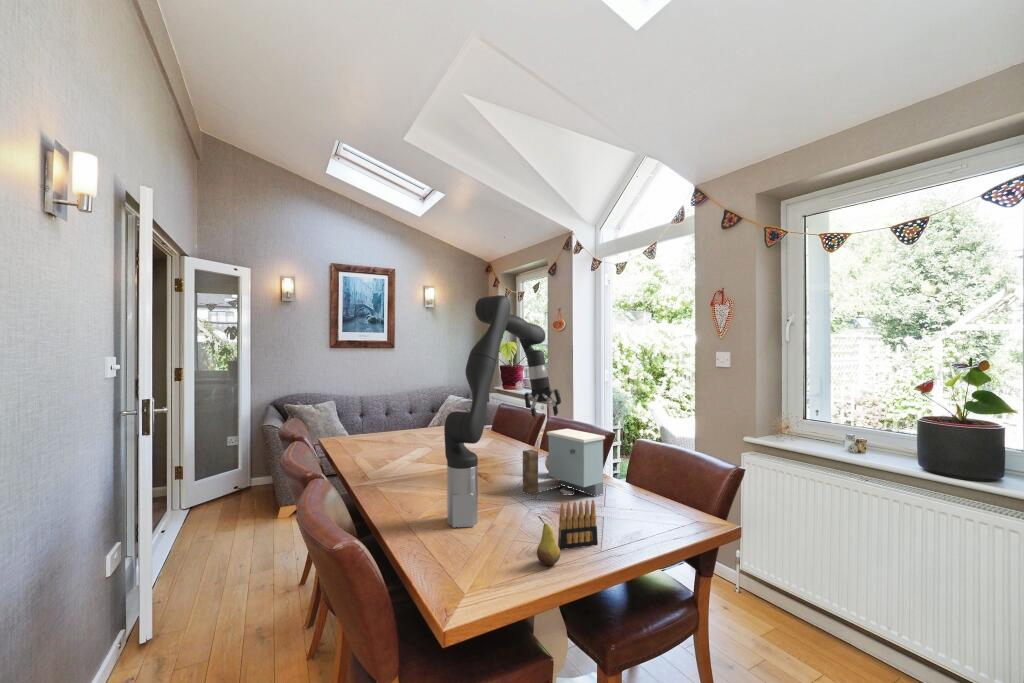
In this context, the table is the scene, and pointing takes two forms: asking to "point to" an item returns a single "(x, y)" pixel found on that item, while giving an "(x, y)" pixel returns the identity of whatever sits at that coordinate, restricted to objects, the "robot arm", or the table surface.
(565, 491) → the steel puck
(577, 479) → the cabinet
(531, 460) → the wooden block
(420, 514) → the table surface
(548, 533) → the fruit
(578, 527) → the ammunition clip
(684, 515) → the table surface
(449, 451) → the robot arm
